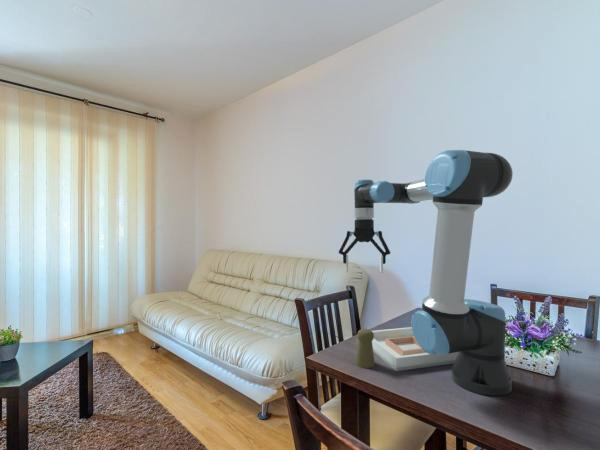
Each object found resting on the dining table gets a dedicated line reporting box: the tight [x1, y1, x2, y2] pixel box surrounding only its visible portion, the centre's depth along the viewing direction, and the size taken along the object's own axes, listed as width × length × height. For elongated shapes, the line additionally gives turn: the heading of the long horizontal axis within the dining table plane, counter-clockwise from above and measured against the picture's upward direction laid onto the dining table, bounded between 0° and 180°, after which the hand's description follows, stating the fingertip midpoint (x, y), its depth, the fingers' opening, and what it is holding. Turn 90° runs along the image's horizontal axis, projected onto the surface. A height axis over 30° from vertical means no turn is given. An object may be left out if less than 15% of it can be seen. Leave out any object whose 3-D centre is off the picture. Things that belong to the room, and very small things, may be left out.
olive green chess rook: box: [355, 328, 376, 369], centre depth 105 cm, size 6×6×11 cm
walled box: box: [371, 326, 458, 372], centre depth 114 cm, size 24×24×4 cm
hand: (364, 271), depth 130 cm, fingers open, 13 cm apart
